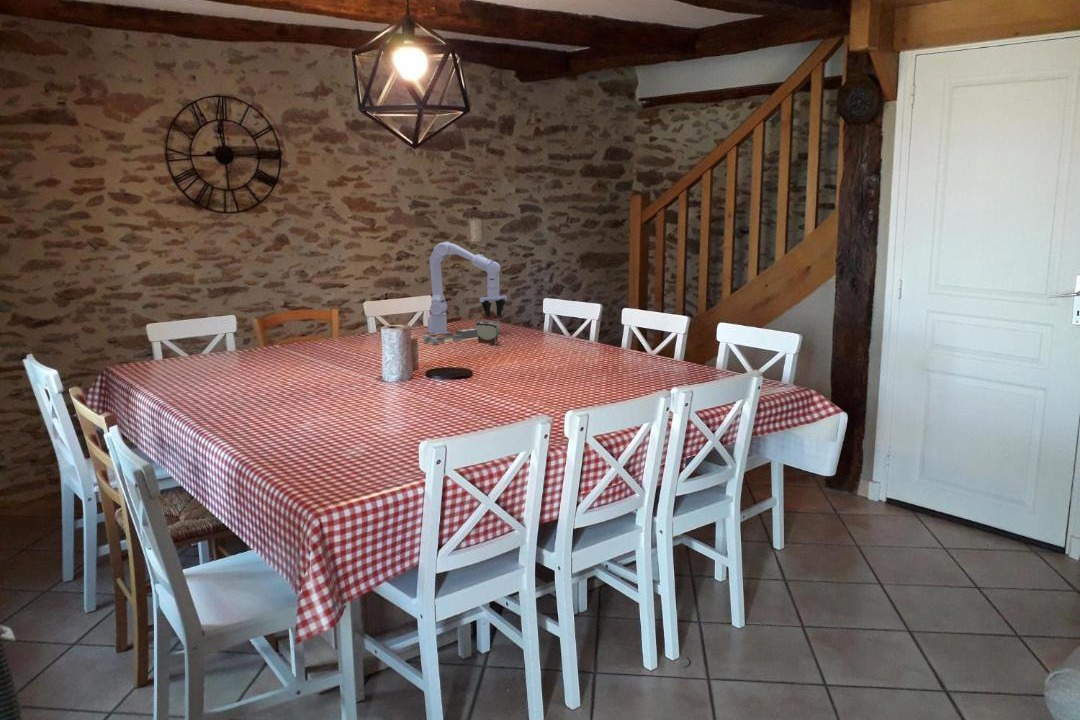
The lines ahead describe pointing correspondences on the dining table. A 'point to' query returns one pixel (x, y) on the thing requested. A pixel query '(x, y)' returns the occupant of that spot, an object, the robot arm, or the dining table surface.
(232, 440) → the dining table surface
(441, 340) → the mount
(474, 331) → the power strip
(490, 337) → the food container
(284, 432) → the dining table surface
